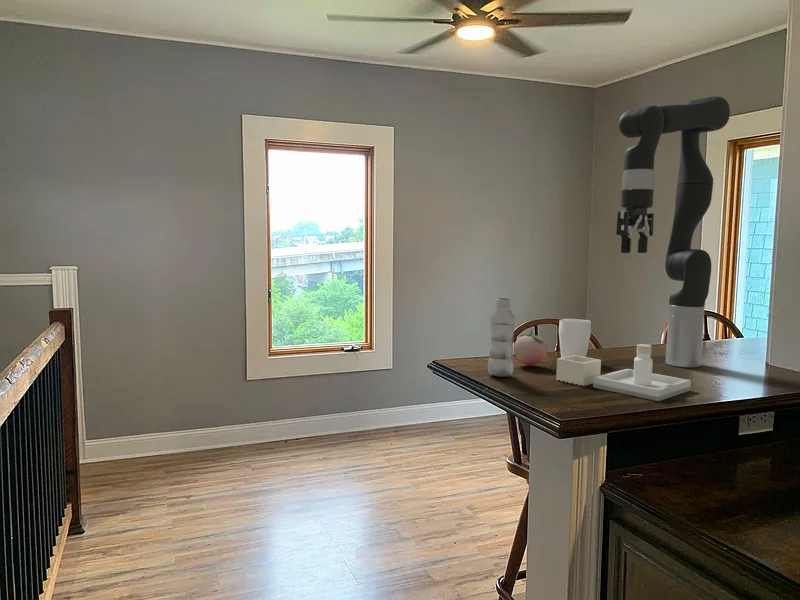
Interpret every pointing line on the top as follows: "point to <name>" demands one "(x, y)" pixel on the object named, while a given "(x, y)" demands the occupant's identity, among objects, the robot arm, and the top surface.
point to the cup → (574, 337)
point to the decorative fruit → (530, 349)
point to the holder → (578, 369)
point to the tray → (657, 391)
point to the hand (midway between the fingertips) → (634, 253)
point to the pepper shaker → (643, 365)
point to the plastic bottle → (501, 339)
